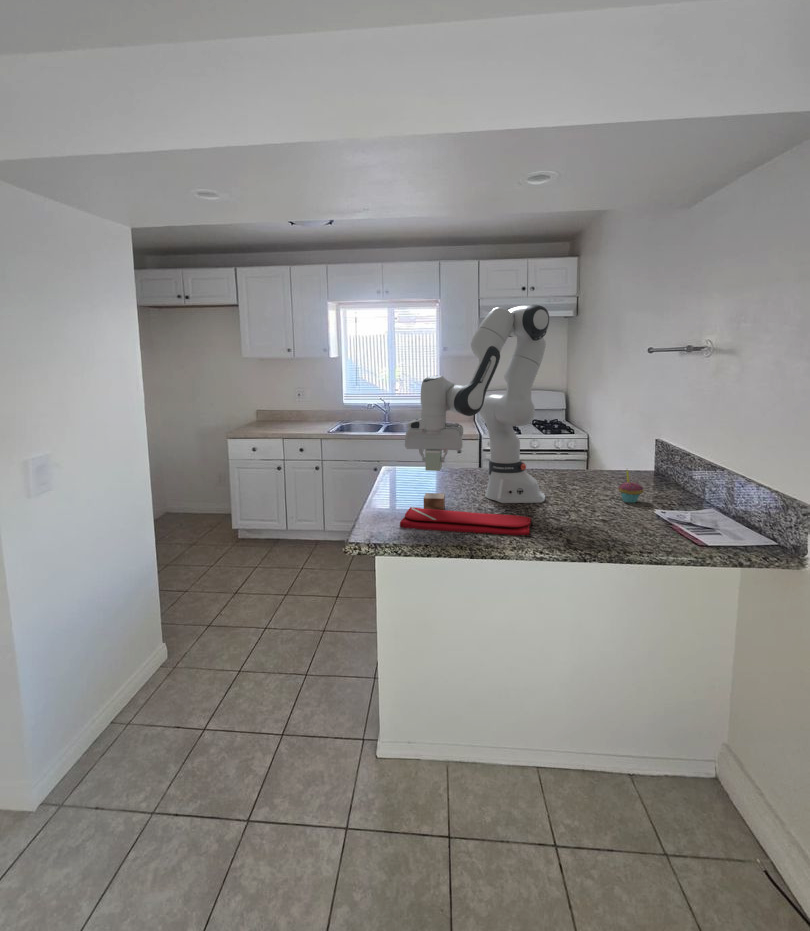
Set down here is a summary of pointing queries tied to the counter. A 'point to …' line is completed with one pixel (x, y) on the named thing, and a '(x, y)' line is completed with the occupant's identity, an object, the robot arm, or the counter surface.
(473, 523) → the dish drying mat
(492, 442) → the robot arm
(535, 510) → the counter surface
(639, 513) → the counter surface
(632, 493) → the cupcake
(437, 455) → the sage tin
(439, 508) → the walnut block
